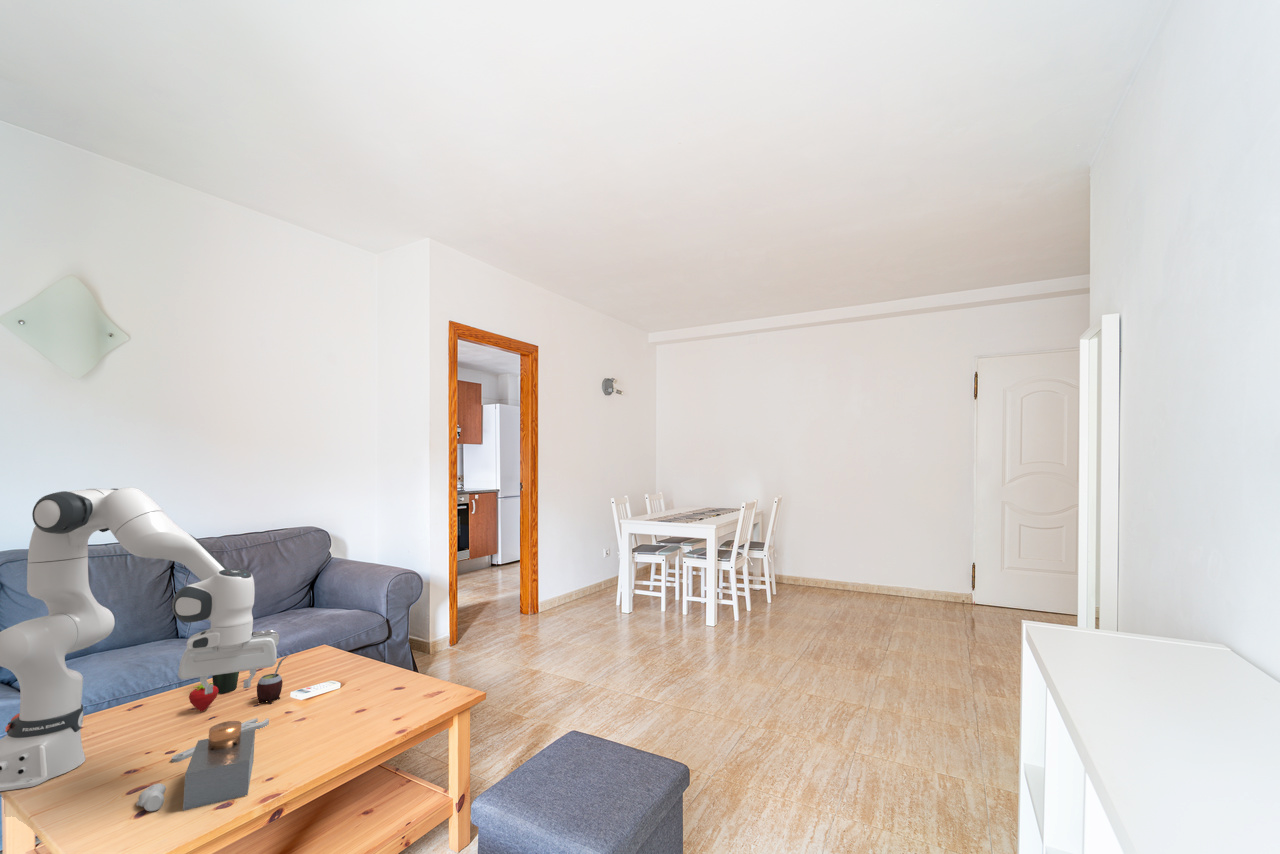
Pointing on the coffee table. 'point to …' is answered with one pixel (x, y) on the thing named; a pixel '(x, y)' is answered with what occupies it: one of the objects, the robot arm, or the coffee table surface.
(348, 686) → the coffee table surface
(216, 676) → the potion bottle
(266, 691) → the mate gourd
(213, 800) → the block
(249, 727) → the adjustable wrench
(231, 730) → the pin
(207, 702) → the strawberry
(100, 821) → the coffee table surface
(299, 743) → the coffee table surface
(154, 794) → the mannequin head
